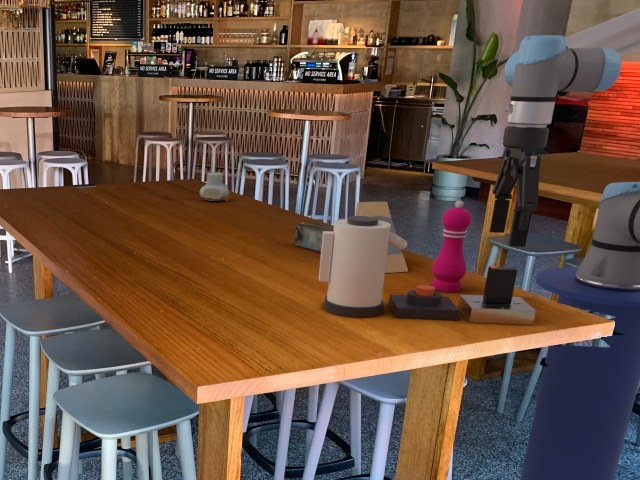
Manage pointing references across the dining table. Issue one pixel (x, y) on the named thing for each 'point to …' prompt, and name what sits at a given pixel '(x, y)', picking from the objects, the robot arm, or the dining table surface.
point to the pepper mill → (452, 250)
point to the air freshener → (214, 187)
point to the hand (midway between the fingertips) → (506, 239)
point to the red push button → (425, 290)
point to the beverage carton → (310, 235)
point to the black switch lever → (499, 285)
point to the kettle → (356, 265)
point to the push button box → (423, 306)
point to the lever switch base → (496, 311)
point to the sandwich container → (382, 213)
